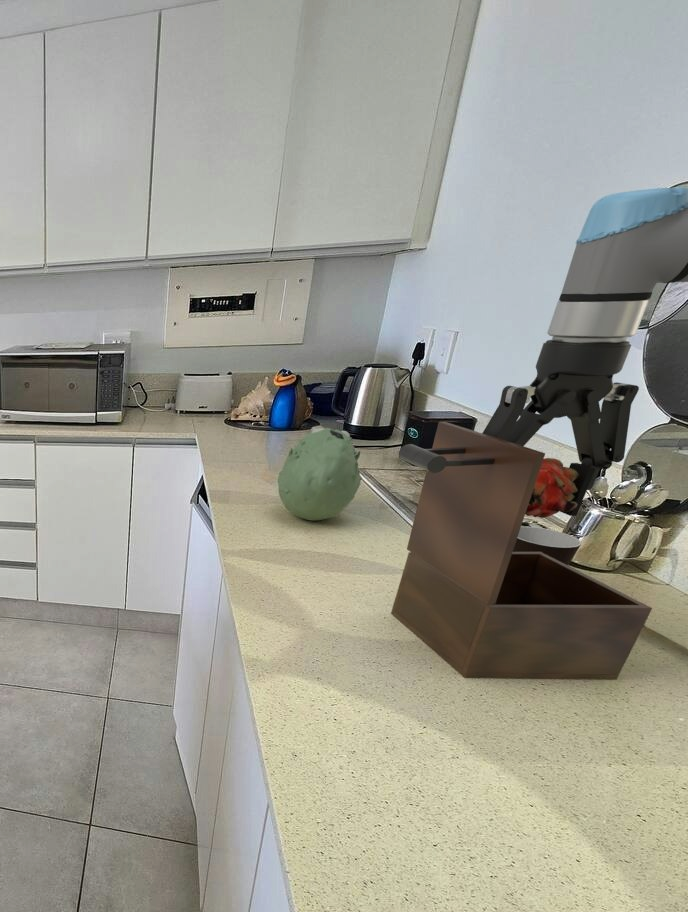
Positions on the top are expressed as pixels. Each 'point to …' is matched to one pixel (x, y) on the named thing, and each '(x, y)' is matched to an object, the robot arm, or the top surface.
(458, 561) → the bin lid
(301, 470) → the green bumpy ovoid
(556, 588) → the bread bin
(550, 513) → the dragon fruit
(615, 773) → the top surface
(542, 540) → the coffee mug
